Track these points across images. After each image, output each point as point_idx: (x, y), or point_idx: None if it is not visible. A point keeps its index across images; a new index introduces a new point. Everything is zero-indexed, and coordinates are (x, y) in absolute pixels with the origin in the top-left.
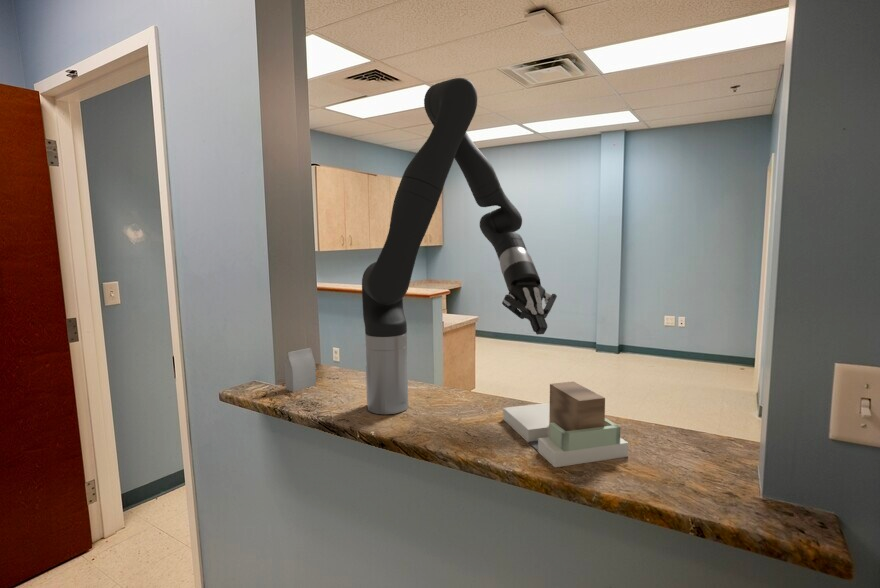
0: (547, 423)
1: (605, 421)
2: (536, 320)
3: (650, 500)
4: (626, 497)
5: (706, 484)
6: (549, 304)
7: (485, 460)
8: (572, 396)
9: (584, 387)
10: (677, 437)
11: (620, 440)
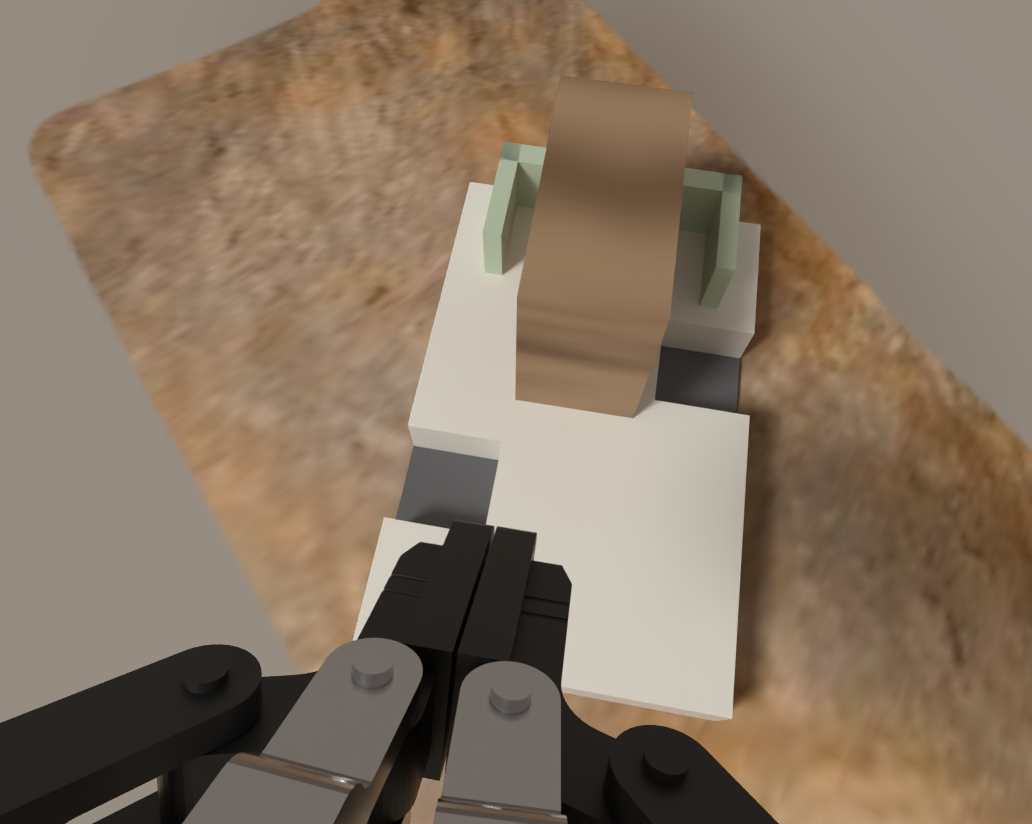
0: (631, 433)
1: (509, 200)
2: (519, 622)
3: (612, 55)
4: (657, 82)
5: (418, 47)
6: (48, 755)
7: (956, 388)
8: (682, 140)
9: (538, 203)
10: (183, 242)
11: (480, 203)
